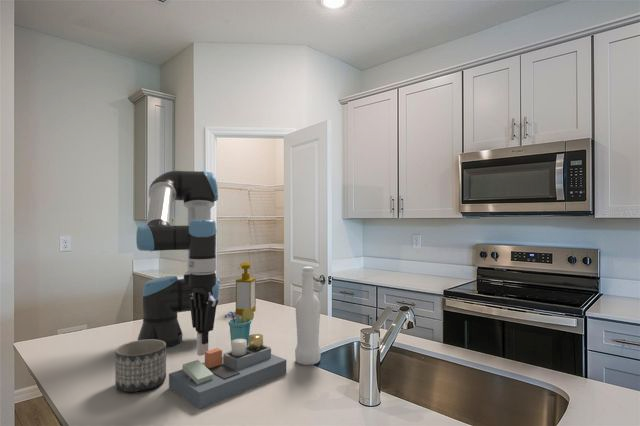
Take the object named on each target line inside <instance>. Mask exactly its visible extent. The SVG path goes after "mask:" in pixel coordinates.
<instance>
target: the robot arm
mask: <svg viewBox="0 0 640 426" xmlns="http://www.w3.org/2000/svg"><path fill="white" fill-rule="evenodd" d="M218 190H219V189H218V183H217V178H216V176H215V174H214V173H213V172H210V171H196V170H193V171H192V170H191V171H190V170H171V171H170V170H169V171H167V172H165V173H162V174H159V176H158V177H156V178H155V179H154V180H153V181H152V182H151V184H150V186H149V189H148V197H149V206H148V212H147V218H146V224H145V225H141V226H138V227H137V228H136V247H137V250H139V251H140V252H141V251H144V252H145V251H147V252H155V251H156V252H158V251H182V250H183V251H187V271H185V273H184V274H183V279H179V278H178V276H176V275H168V276H160V277H157V278H156V277H155V278H153V279H150V280H148V281H145V283H144V284H143V286H142V287H143V289H142V296H141V297H142V325H141V327H140V330H139V333H138V337H137V341H138V340H146V339H156V340H162V341H164V342H165V343H166V348H169V347H174V346H175V345H178V344H180V343H181V342H182V341H183V331H182V328H181V325H180V322H179V320H178V313H179V312H180V313H181V312H190V317H191V318H190V319H191V324H192V328H193V329H195V331H196V338H197V339H196V355H197V356H199V357H200V356H205V351H209V332H211V331H214V325H215V319H216V313H217V312H216V311H217V306H218V303H219V292H220V281H221V280H220V278H219V277H217V273H216V271H217V254H216V253H217V252H216V251H217V250H216V249H217V225H216V224H217V223H216V220H215V219H212V217H211V209H212V208H213V207H214V206H215V202H217V201H218V200H219V193H218ZM174 201H182V202H183V207H185V208H186V209H187V225H172V224H173V209H174V208H173V206H174Z"/></svg>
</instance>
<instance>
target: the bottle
mask: <svg viewBox="0 0 640 426" xmlns="http://www.w3.org/2000/svg"><path fill="white" fill-rule="evenodd" d="M314 275H315V273H314V267H313V266H303V267H302V273H301V276H302V278H301V279H302V280H301V283H302V285H301V294H300V295H299V296H298V298H297V299H296V301H295V322H296V323H295V324H296V325H295V326H296V336H297V337H296V338H297V339H296V342H297V343H296V347H295V349H294V351H295V354H294V356H295V362H296V363H297V364H300V365H303V366H312V365H313V366H314V365H315V364H316V365H317V364H318V363H319V362H320V360H321V357H322V356H321V354H322V353H321V351H322V350H321V347H320V345H319V336H320V335H319V334H320V317H321V302H320V300H319V298H318V297H317V296H316V294H315V289H314Z"/></svg>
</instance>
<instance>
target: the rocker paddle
mask: <svg viewBox="0 0 640 426" xmlns="http://www.w3.org/2000/svg"><path fill="white" fill-rule="evenodd" d="M202 363H203V362H201V361H200V360H199V359H196V360H193V361H189V362H186V363H183V364H182V369H183V370H184V371H185V372H186V373H187V374H188V375H189V376H190V377H191V378H192V379H193V380H194V381H195V382H196V383H197V384H200V383H203V382H206V381H209V380H211V379H213V375H214V374H213V373H212V372H211V371H210V370H209V369H208V368H207V367H205V366H204V365H203V364H202ZM182 369H181V370H182Z"/></svg>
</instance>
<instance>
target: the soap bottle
mask: <svg viewBox="0 0 640 426" xmlns="http://www.w3.org/2000/svg"><path fill="white" fill-rule="evenodd" d="M251 266H252V263H249V262H246V261H245V262H243V263H241V264H240V265H239V267H238V268H237V269H238V270H239V269H241V270H242V269H243V273H241V277H239V278H238V279H235V314H236V315H242V312H243V311H244V310H245V309H246V308H249V309H252V310H253V313H254V312H256V309H257V306H256V302H257V301H256V297H257V296H256V291H257V290H256V289H257V288H256V283H257V282H256V281H257V280H256V279H257V278H256V277H250V276H251V275H250V272H248V271H249V270H248V269H250V268H251Z"/></svg>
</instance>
